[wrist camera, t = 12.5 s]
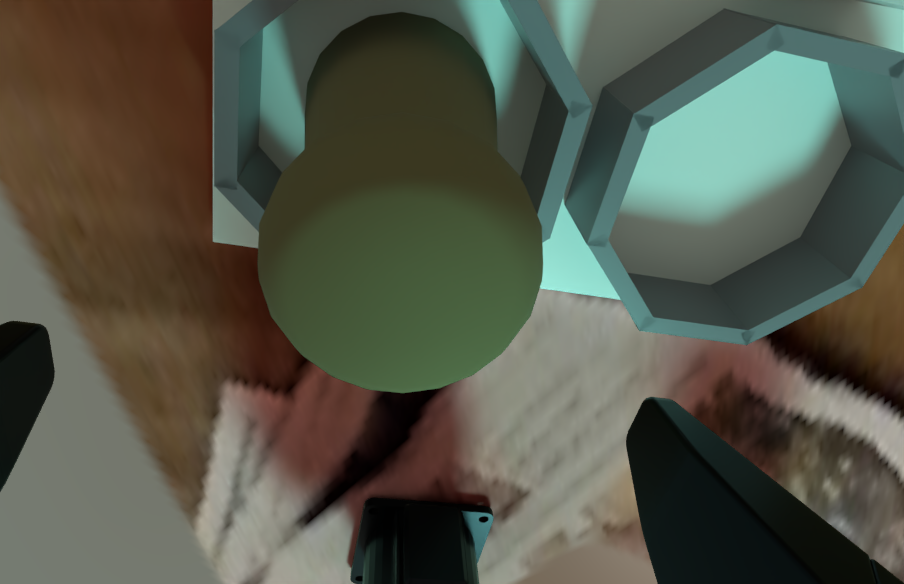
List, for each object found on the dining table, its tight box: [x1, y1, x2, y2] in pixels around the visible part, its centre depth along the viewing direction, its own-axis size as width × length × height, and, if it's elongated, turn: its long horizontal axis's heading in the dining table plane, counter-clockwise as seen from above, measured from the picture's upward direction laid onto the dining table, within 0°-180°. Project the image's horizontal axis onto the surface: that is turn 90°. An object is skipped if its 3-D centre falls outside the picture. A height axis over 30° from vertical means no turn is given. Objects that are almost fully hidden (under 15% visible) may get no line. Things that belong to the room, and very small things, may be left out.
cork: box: [258, 12, 543, 393], centre depth 14 cm, size 6×6×11 cm
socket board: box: [213, 0, 904, 345], centre depth 18 cm, size 13×22×5 cm, turn 78°
